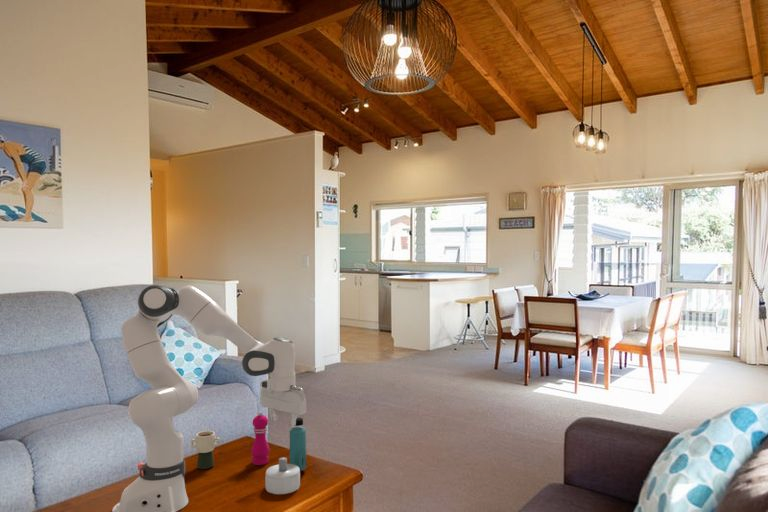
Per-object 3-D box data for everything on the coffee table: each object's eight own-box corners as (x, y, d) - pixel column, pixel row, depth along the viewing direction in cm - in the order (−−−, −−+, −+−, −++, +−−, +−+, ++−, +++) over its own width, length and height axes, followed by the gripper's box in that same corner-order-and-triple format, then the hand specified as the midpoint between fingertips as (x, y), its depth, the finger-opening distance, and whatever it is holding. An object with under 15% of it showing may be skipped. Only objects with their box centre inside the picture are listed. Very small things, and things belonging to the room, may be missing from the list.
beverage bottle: (303, 475, 192) (303, 421, 192) (286, 474, 193) (286, 420, 193) (309, 468, 198) (309, 416, 198) (292, 467, 200) (292, 415, 200)
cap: (271, 496, 175) (271, 467, 175) (262, 483, 185) (262, 456, 185) (304, 489, 180) (304, 461, 180) (293, 477, 190) (293, 450, 191)
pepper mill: (250, 459, 207) (250, 409, 207) (268, 457, 209) (268, 408, 210) (251, 466, 200) (251, 414, 201) (270, 464, 203) (270, 413, 203)
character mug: (221, 462, 204) (221, 429, 204) (218, 470, 197) (218, 435, 197) (192, 464, 202) (192, 431, 202) (188, 472, 195) (188, 437, 195)
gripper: (310, 385, 179) (310, 425, 179) (270, 378, 191) (270, 415, 191) (297, 389, 174) (297, 430, 174) (257, 381, 186) (257, 420, 186)
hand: (283, 422), depth 183 cm, fingers open, 8 cm apart
